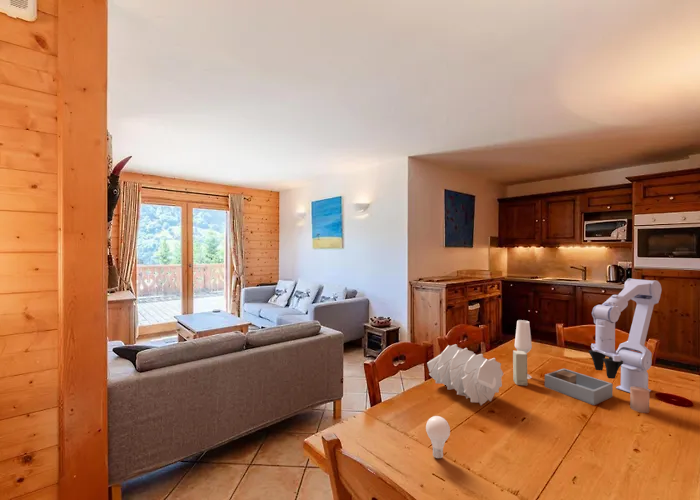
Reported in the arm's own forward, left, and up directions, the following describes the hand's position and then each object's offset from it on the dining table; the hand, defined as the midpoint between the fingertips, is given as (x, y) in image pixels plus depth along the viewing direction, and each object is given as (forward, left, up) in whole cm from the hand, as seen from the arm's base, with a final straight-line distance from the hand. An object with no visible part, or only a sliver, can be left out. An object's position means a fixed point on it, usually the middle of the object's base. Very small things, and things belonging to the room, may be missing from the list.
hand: (604, 373), depth 123 cm
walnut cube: (+2, -12, -9) cm, 15 cm away
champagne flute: (+6, -28, -10) cm, 30 cm away
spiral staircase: (+42, -28, -10) cm, 52 cm away
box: (+14, -24, -10) cm, 30 cm away
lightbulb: (+78, -5, -10) cm, 79 cm away
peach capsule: (-2, +10, -9) cm, 14 cm away
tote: (+2, -8, -9) cm, 13 cm away
